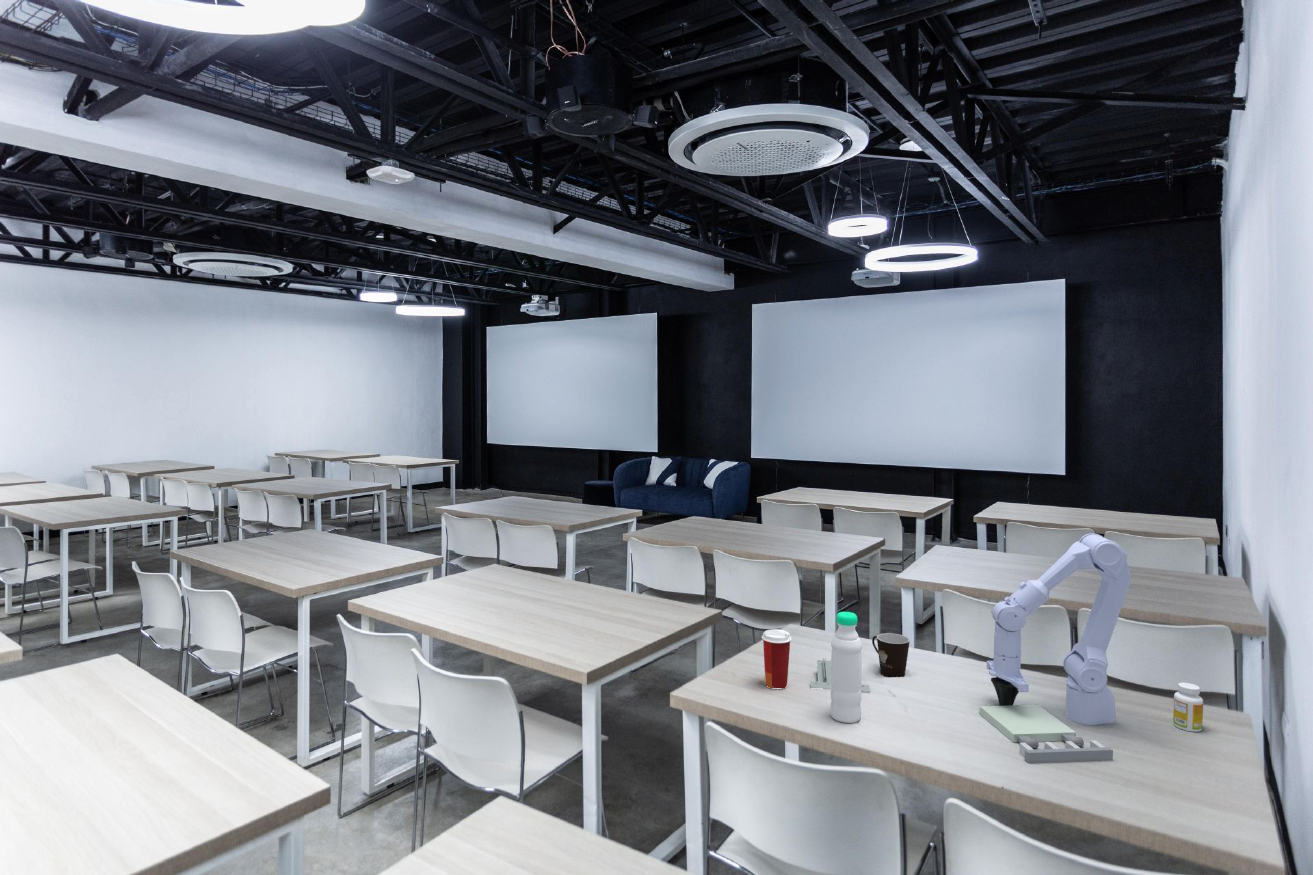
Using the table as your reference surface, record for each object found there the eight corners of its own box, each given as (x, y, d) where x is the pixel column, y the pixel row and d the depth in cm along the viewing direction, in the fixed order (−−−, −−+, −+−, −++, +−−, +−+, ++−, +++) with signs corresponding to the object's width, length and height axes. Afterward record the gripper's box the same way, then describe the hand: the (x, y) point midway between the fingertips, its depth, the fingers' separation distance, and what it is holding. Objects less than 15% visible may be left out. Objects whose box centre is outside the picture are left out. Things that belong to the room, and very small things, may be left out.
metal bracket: (809, 651, 196) (865, 655, 193) (809, 669, 198) (864, 673, 195) (810, 685, 182) (870, 690, 180) (810, 704, 184) (869, 708, 182)
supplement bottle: (1199, 724, 163) (1201, 683, 163) (1204, 734, 159) (1205, 692, 158) (1171, 719, 166) (1172, 679, 165) (1174, 729, 161) (1176, 687, 161)
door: (1036, 712, 167) (1037, 704, 166) (1086, 747, 149) (1086, 739, 149) (979, 713, 166) (979, 706, 166) (1022, 749, 148) (1022, 741, 148)
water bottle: (863, 714, 169) (864, 611, 168) (858, 726, 162) (859, 619, 161) (833, 708, 172) (834, 607, 171) (827, 720, 165) (828, 615, 164)
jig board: (1036, 711, 170) (1036, 697, 170) (1112, 767, 144) (1112, 749, 144) (963, 713, 169) (964, 699, 169) (1027, 770, 143) (1028, 752, 143)
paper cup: (795, 683, 187) (795, 631, 187) (784, 693, 181) (784, 639, 180) (768, 677, 192) (768, 626, 191) (756, 686, 185) (756, 634, 184)
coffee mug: (913, 680, 190) (914, 643, 189) (881, 680, 190) (882, 643, 189) (899, 664, 201) (900, 629, 201) (869, 664, 201) (869, 629, 201)
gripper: (975, 643, 173) (973, 697, 174) (1007, 665, 159) (1006, 724, 160) (1002, 642, 174) (1001, 696, 175) (1038, 664, 159) (1036, 723, 160)
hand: (1005, 709), depth 167 cm, fingers closed
